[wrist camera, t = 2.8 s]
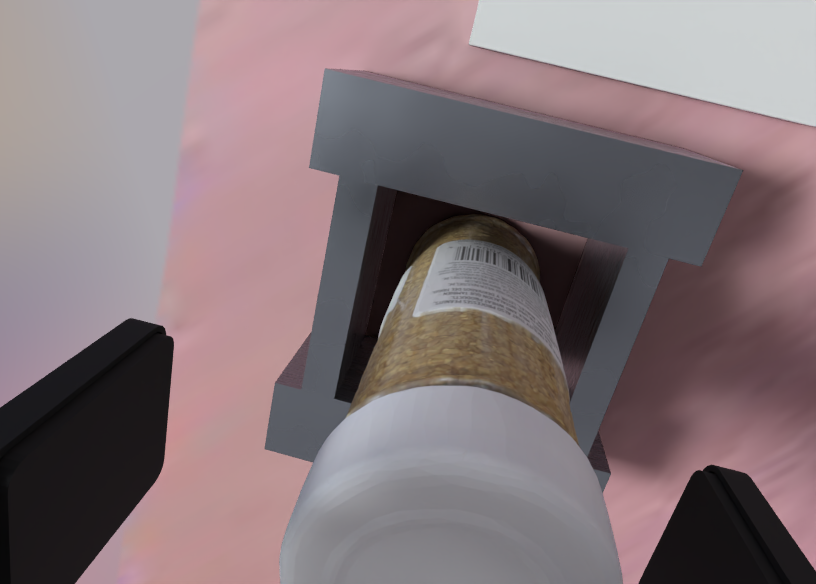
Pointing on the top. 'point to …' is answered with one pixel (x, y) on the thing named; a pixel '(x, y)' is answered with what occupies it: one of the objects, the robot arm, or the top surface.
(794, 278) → the top surface
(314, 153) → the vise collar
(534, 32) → the rubber pad
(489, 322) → the sprinkles bottle
